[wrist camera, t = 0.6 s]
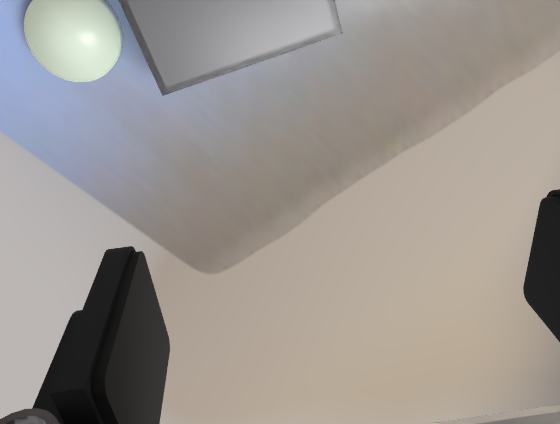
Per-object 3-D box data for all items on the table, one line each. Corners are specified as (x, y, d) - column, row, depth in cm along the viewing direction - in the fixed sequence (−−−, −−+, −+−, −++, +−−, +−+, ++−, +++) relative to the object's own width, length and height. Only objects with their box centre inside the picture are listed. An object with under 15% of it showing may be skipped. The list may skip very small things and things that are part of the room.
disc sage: (13, 2, 37) (4, 5, 36) (97, -29, 37) (91, -28, 35) (62, 87, 41) (55, 93, 39) (138, 60, 40) (135, 65, 39)
